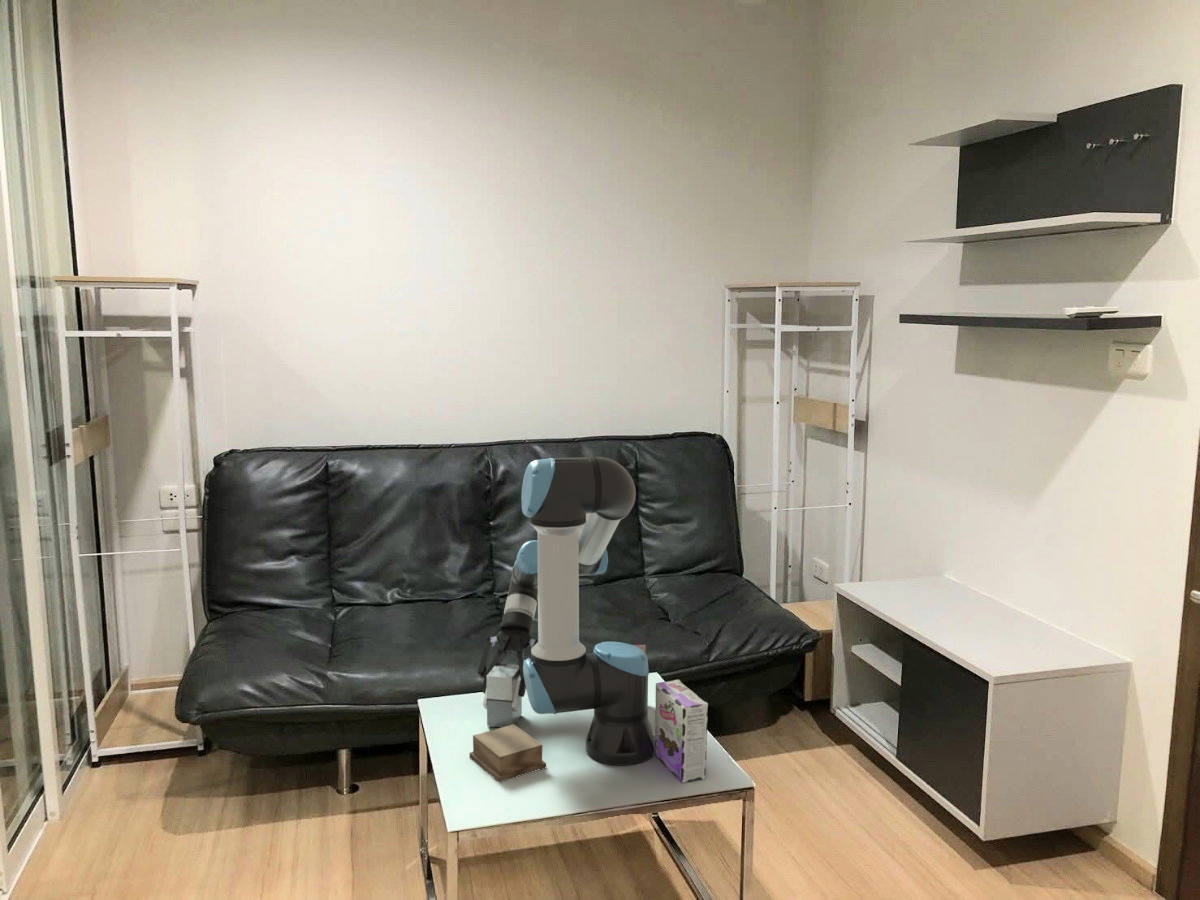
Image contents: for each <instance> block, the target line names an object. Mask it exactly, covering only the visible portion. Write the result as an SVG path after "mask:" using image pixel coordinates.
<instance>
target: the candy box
mask: <svg viewBox="0 0 1200 900" xmlns="http://www.w3.org/2000/svg"><path fill="white" fill-rule="evenodd" d="M708 707H709V703H708V702H707V701H705V700H703V698H701V697H700V696H698V695H697V693H695V692H694V691H693V690H692V689H690V688H689V687H688V686H687V685H685V684H684V683H683V682H682V681H681V679H673V680H667V681H661V682H656V683H655V719H654V720H655V729H654V731H655V732H654V738H655V753H654V755H655V756H656V757H657V758H658V759H659V760H660V762H662V764H664V766H665V767H666V768H667V769H668V770H669V771H670V772H671V773H672V774H673V775H674V776H675V777H676V779H678V781H679V782H680V783H682V784H683V783H690V782H696V781H702V780H706V776H707V775H706V774H707V773H706V772H707V743H708V742H707V739H708V712H709V711H708Z"/></svg>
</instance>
